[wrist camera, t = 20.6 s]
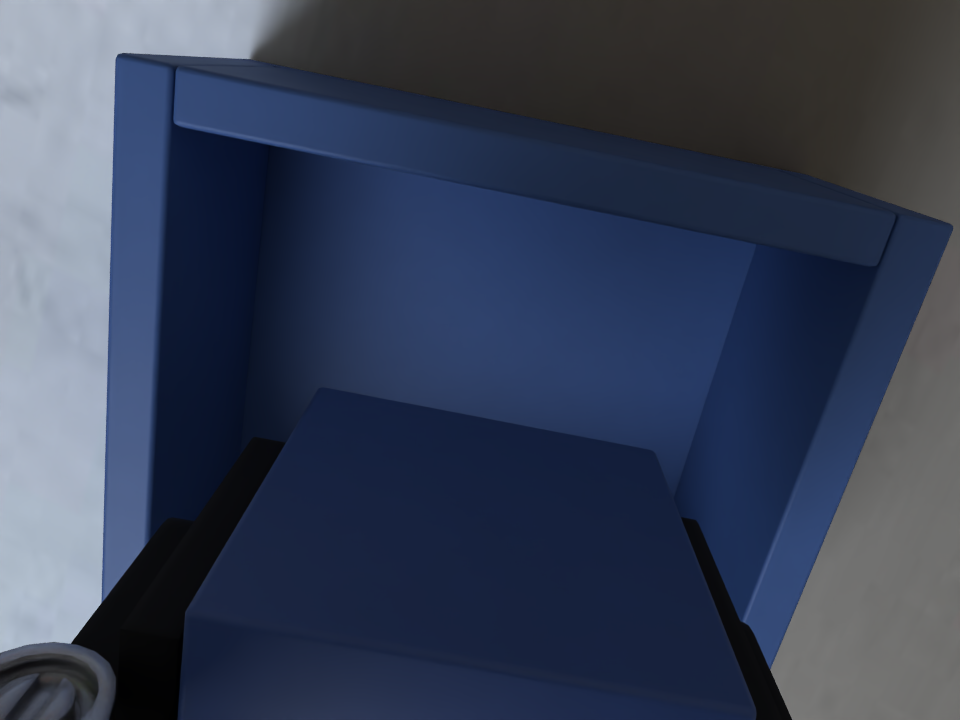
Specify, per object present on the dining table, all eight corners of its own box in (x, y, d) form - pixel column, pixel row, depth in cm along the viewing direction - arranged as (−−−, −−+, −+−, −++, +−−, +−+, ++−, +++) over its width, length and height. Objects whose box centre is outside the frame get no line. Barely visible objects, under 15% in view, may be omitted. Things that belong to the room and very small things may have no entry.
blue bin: (808, 175, 16) (956, 225, 11) (654, 625, 20) (707, 824, 15) (246, 58, 15) (112, 50, 10) (207, 543, 19) (96, 717, 14)
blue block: (656, 449, 10) (764, 713, 6) (575, 708, 12) (614, 1065, 8) (318, 383, 10) (181, 609, 6) (282, 655, 12) (153, 991, 8)
